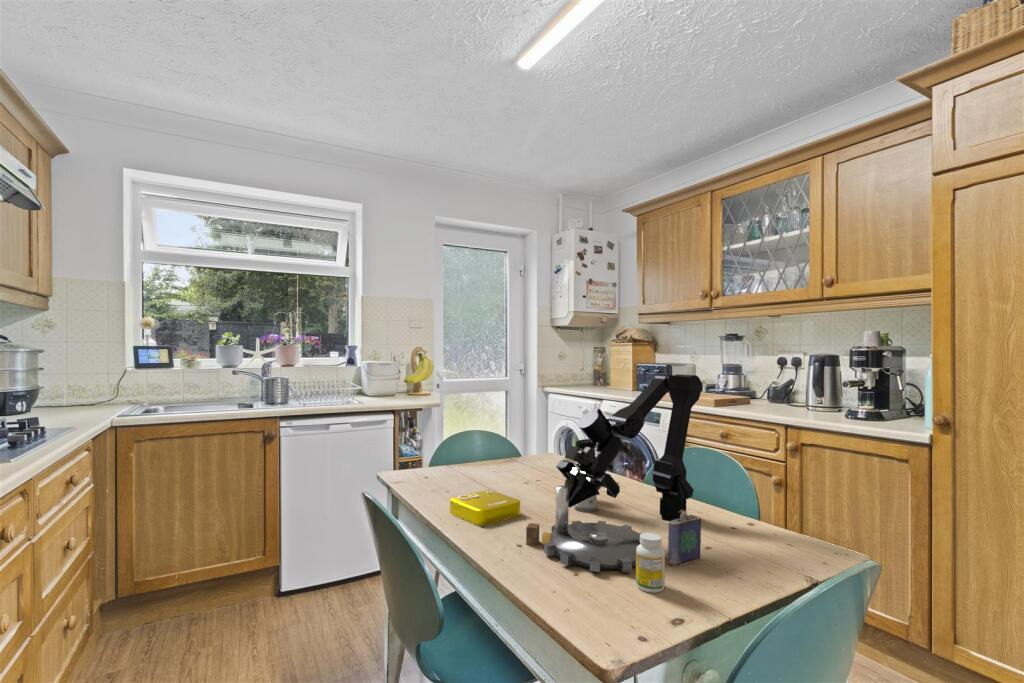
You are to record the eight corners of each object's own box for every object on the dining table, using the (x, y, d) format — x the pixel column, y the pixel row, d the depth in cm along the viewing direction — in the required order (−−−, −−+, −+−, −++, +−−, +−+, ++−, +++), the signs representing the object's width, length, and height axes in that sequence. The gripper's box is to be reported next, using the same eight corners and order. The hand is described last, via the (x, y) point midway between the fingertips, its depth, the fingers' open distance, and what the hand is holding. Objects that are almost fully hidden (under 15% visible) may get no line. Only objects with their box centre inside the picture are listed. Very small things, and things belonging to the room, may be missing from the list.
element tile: (480, 528, 129) (480, 509, 129) (446, 513, 140) (447, 496, 140) (523, 516, 139) (523, 498, 139) (489, 503, 150) (489, 487, 150)
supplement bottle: (657, 596, 93) (657, 543, 93) (630, 587, 97) (631, 536, 97) (669, 586, 97) (669, 536, 97) (643, 578, 101) (643, 529, 101)
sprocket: (667, 540, 120) (667, 487, 120) (640, 582, 97) (641, 517, 98) (567, 522, 131) (568, 474, 132) (523, 556, 109) (524, 498, 109)
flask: (674, 567, 106) (674, 516, 106) (663, 562, 108) (663, 512, 109) (703, 559, 111) (704, 509, 111) (692, 554, 113) (693, 506, 113)
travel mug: (597, 513, 141) (598, 441, 142) (573, 511, 143) (574, 440, 143) (598, 506, 148) (598, 437, 148) (575, 504, 149) (576, 436, 149)
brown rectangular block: (539, 541, 120) (539, 524, 120) (536, 545, 117) (536, 528, 117) (529, 539, 120) (529, 523, 120) (526, 544, 117) (526, 527, 117)
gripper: (562, 428, 131) (525, 475, 126) (610, 439, 115) (571, 494, 109) (586, 456, 135) (551, 503, 129) (636, 470, 119) (599, 525, 113)
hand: (566, 505), depth 120 cm, fingers closed
